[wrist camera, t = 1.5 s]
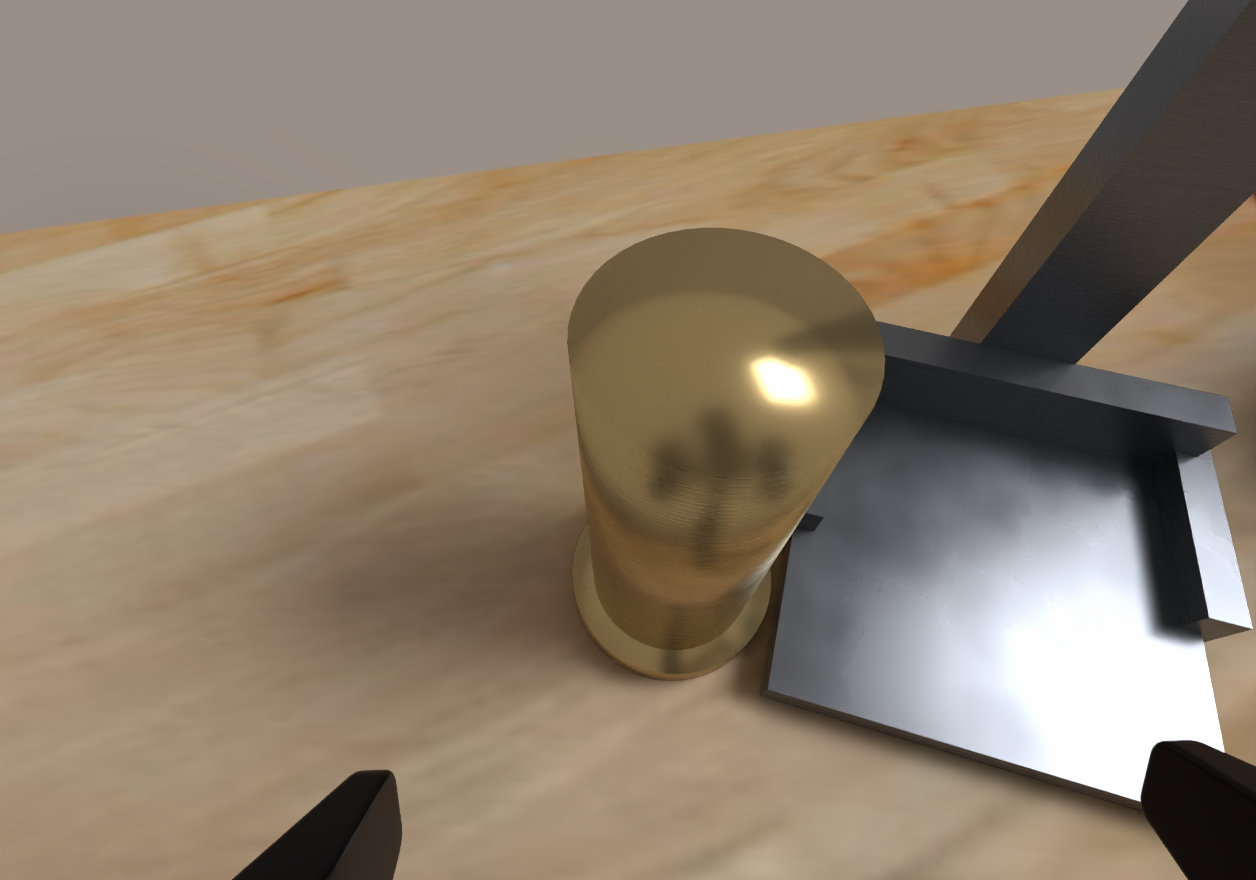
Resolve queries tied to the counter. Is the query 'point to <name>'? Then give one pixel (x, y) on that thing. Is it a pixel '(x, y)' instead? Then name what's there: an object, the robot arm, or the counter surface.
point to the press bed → (1045, 475)
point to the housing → (706, 434)
